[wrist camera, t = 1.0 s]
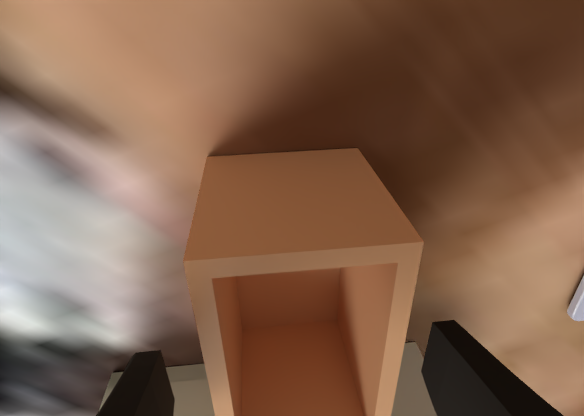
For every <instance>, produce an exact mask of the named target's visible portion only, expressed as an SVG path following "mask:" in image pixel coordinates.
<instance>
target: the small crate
mask: <svg viewBox="0 0 584 416" xmlns="http://www.w3.org/2000/svg"><path fill="white" fill-rule="evenodd" d="M423 244H424V241H423V240H422V238H421V237H420V236H419V234H418V233H417V231H416V230H415V229H414V227H413V226H412V224H411V223H410V221H409V220H408V219H407V217H406V216H405V214H404V213H403V212H402V210H401V209H400V207H399V206H398V204H397V203H396V202H395V200H394V199H393V197H392V196H391V194H390V193H389V192H388V190H387V189H386V187H385V186H384V185H383V183H382V182H381V180H380V179H379V177H378V176H377V175H376V173H375V172H374V170H373V169H372V168H371V166H370V165H369V163H368V162H367V160H366V159H365V158H364V156H363V155H362V153H361V152H360V151H359V149H358V148H347V149H330V150H313V151H296V152H279V153H262V154H245V155H227V156H210V157H207V160H206V164H205V168H204V173H203V177H202V181H201V186H200V190H199V194H198V199H197V203H196V207H195V212H194V216H193V220H192V225H191V229H190V233H189V238H188V242H187V246H186V251H185V255H184V259H183V263H184V268H185V273H186V278H187V283H188V287H189V292H190V297H191V302H192V307H193V311H194V316H195V321H196V326H197V331H198V336H199V340H200V345H201V350H202V355H203V360H204V365H205V369H206V374H207V379H208V384H209V389H210V394H211V398H212V403H213V408H214V413H215V416H391V413H392V408H393V403H394V397H395V392H396V387H397V382H398V376H399V371H400V366H401V360H402V355H403V350H404V345H405V339H406V334H407V329H408V324H409V318H410V313H411V308H412V302H413V297H414V292H415V287H416V281H417V276H418V271H419V265H420V260H421V255H422V250H423Z"/></svg>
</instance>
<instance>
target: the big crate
mask: <svg viewBox="0 0 584 416" xmlns="http://www.w3.org/2000/svg"><path fill="white" fill-rule="evenodd" d="M423 361H424V358H423V356H422V354H421V352H420V350H419V348H418V346H417V344H416V342H410V343H405V345H404V350H403V355H402V360H401V366H400V371H399V376H398V382H397V387H396V392H395V397H394V403H393V408H392V413H391V416H437V414H436V412H435V410H434V407H433V405H432V402H431V399H430V396H429V393H428V391H427V388H426V385H425V382H424V379H423V376H422V373H421V369H422V365H423ZM166 371H167V374H168V378H169V381H170V384H171V388H172V391H173V395H174V398H175V403H174V414H173V416H215V413H214V408H213V403H212V398H211V394H210V389H209V384H208V379H207V374H206V369H205V365H204V364H194V365H185V366H175V367H166ZM122 373H123V372H116V373H112V375H111V378H110V380H109V383H108V386H107V389H106V392H105V395H104V398H103V400H102V403H101V406H100V409H101V407H102V406H103V404H104V403H105V401H106V399H107V398H108V396H109V395H110V393H111V392H112V390H113V388H114V387H115V385H116V383H117V382H118V380H119V378H120V377H121V375H122ZM100 409H99V411H100Z"/></svg>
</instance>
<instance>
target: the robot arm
mask: <svg viewBox="0 0 584 416" xmlns="http://www.w3.org/2000/svg"><path fill="white" fill-rule="evenodd" d="M567 313H568V315H569V316H570V317H571V318H572V319H573V320H575V321H584V276H583V278H582V280H581V282H580V284H579V286H578V288H577V290H576V293H575V295H574V297H573V299H572V301H571V303H570V305H569V307H568V311H567ZM421 373H422V376H423V379H424V382H425V385H426V388H427V391H428V393H429V396H430V399H431V402H432V405H433V407H434V410H435V412H436V414H437V416H563V415H562V414H561V413H560V412H558V411H557V410H556V409H555V408H553V407H552V406H551V405H550V404H548V403H547V402H546V401H545V400H544V399H542V398H541V397H540V396H539V395H538V394H536V393H535V392H534V391H533V390H532V389H531V388H530V387H528V386H527V385H526V384H525V383H524V382H523V381H521V380H520V379H519V378H518V377H517V376H516V375H514V374H513V373H512V372H511V371H510V370H509V369H508V368H507V367H505V366H504V365H503V364H502V363H501V362H500V361H499V360H498V359H496V358H495V357H494V356H493V355H492V354H491V353H490V352H489V351H488V350H487V349H485V348H484V347H483V346H482V345H481V344H480V343H479V342H478V341H477V340H476V339H474V338H473V337H472V336H471V335H470V334H469V333H468V332H467V331H466V330H465V329H464V328H462V327H461V326H460V325H459V324H458V323H457V322H456V321H455V320H450V321H440V322H432V327H431V331H430V335H429V340H428V344H427V348H426V352H425V357H424V361H423V365H422V369H421ZM174 403H175V398H174V395H173V391H172V388H171V384H170V381H169V378H168V374H167V371H166V367H165V364H164V360H163V357H162V353H161V350H158V351H149V352H139V353H135V354H134V355H133V356H132V358H131V360H130V362H129V363H128V365H127V367H126V368H125V370H124V372H123V373H122V375H121V377H120V378H119V380H118V382H117V383H116V385H115V387H114V388H113V390H112V392H111V393H110V395H109V396H108V398H107V399H106V401H105V403H104V404H103V406H102V407H101V409H100V411H99V412H98V414H97V415H96V416H173V414H174Z"/></svg>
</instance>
